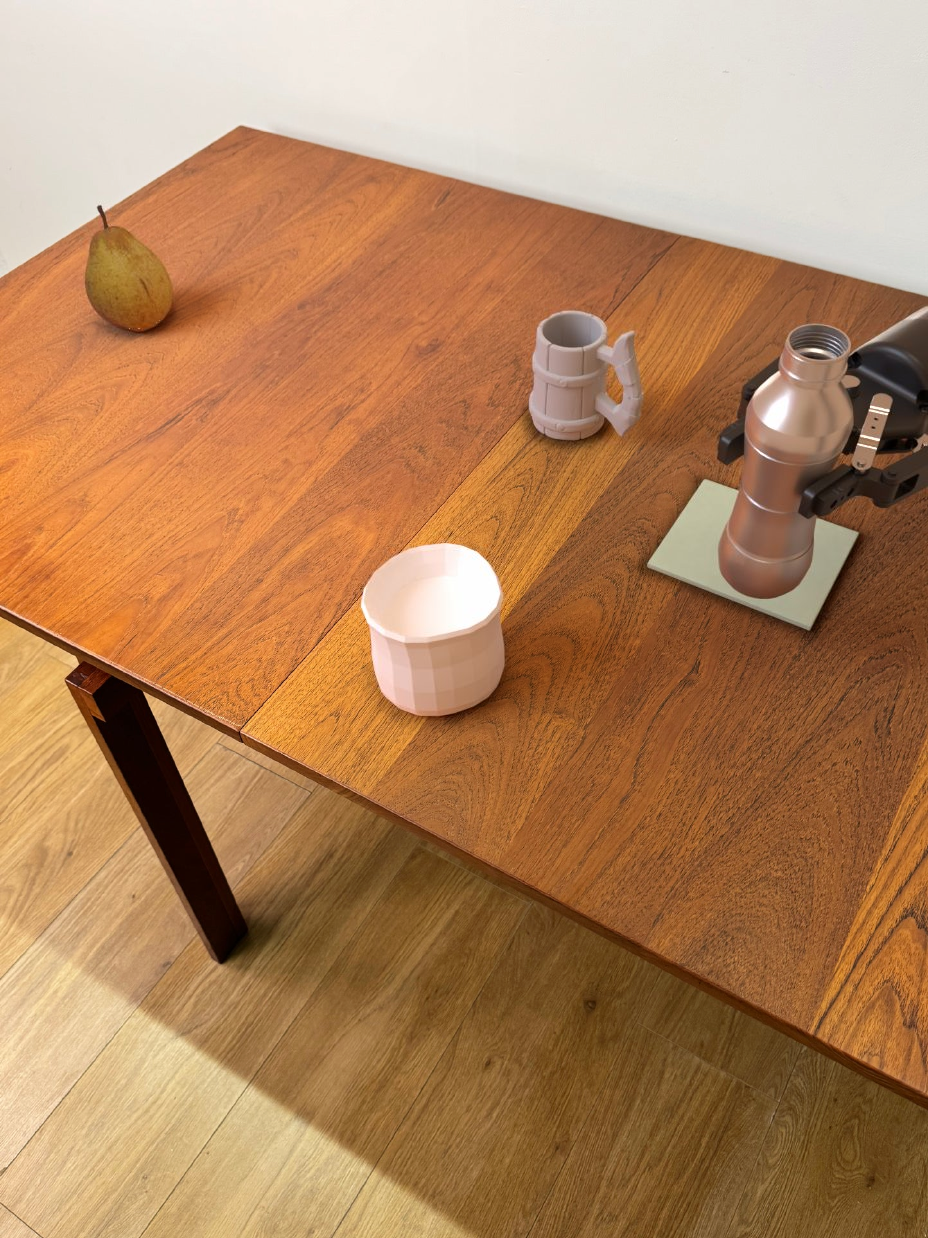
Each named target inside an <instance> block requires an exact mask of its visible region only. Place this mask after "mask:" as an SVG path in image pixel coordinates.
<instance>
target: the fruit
mask: <svg viewBox="0 0 928 1238" xmlns="http://www.w3.org/2000/svg"><path fill="white" fill-rule="evenodd" d="M96 210H97V212H98V213H99V216H100V217H101V219H102V223H103V229H100V230H98V231H96V232H95V233H93V236H92V237H91V240H90V243H89V248H88V249H89V250H88V257H87V261H86V266H85V272H84V288H85V294H86V296H87V299H88V302H89V304H90V305H91V307H92V308H93V310H94V311H95V312H96V313H97V314H98V316H100V318H102V319H103V320H104V321H105V322H107V323H108V324H110V325H112V326H115V327H117V328H119V329H122V330H123V329H124V330H128V331H132V332H135V333H139V332H140V333H141V332H146V331H148V330H151V329H152V328H155V327H156V326H158V325H159V324H160V323H161V322H162V321H163V320H165V318H166V317H167V316H168V314H169V312H170V311H171V308H172V305H173V299H174V287H173V283H172V279H171V277H170V274H169V272H168V270H167V268H166V266H165V264H164V263H163V261H162V260H161V259H160V258H159V256H158V255H157V254H156V253H155V252H154V251H153V250H152V249H150V247H148V246H147V245H146V244H144V243H143V242H142V241H141V240H140V239H138V238H137V237H136V236H135V235H134V234H133V233H131V232H130V231H129V230H128V229H126V228H124V227H121V226H118V225H111V226H109V225H108V222H107V216H106V214H105V211H104V208H103V205H101V204H99V205H97V206H96ZM167 313H168V314H167ZM161 319H162V320H161ZM159 320H160V321H159ZM156 322H157V323H156ZM129 328H130V329H129ZM138 328H140V329H138Z"/></svg>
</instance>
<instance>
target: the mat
mask: <svg viewBox="0 0 928 1238" xmlns="http://www.w3.org/2000/svg"><path fill="white" fill-rule="evenodd" d="M738 492H739V489H735V488H732V487H729V486H726V485H725V484H721V483H717V482H714V481H712V480H709V479H706V478H704V479H703V480H702V481H701V483H700V485H699V486H698V488H697V489H696V490H695V492H694V494H693V495H692V497H691V498H690V500H689V501H688V502H687V504H686V505H685V507H684V509H683V510H682V511H681V512H680V514H679V515H678V517H677V518H676V520H675V521H674V523H673V525H672V526H671V528H670V529H669V530H668V532H667V534H666V535H665V537H664V538H663V540H662V541H661V542H660V544H659V545H658V547H657V548H656V550H655V551H654V553H653V555H652V556H651V557H650V559H649V561H648V562H647V564H646V568H648V569H651V570H653V571H656V572H658V573H661V574H663V575H666V576H669V577H671V578H674V579H676V580H679V581H681V582H684V583H687V584H689V585H691V586H693V587H697V588H699V589H701V590H702V589H703V591H707V592H709V593H712V594H715V595H717V596H720V597H723V598H725V599H726V600H727V599H728V600H730V601H733V602H735V603H738V604H740V605H743V606H746V607H747V608H749V609H753V610H756V611H758V612H760V613H763V614H765V615H769V616H771V617H773V618H776V619H778V620H781V621H784V622H785V623H789V624H791V625H793V626H795V627H798V628H801V629H803V630H807V631H811V629H812V627H813V625H814V624H815V622H816V619H817V617H818V615H819V614H820V611H821V609H823V606H824V603H825V602H826V600H827V598H828V596H829V594H830V592H831V590H832V588H833V586H834V584H835V583H836V580H837V578H838V576H839V574H840V572H841V571H842V568H843V566H844V565H845V563H846V561H847V558H848V556H849V555H850V553H851V551H852V549H853V547H854V545H855V543H856V541H857V539H858V537H859V535H860V532H859V531H855V530H853V529H850V528H847V527H844V526H841V525H839V524H836V523H833V522H830V521H827V520H825V519H821V518H820V517H817V519H816V524H815V530H814V550H813V558H812V563H811V566H810V568H809V570H808V572H807V573H806V575H805V577H804V578H803V580H802V581H801V583H800V584H799V585H798V586H797V587H796V588H795V589H794V590H792V591H790V592H789V593H787V594H784V595H782V596H779V597H776V598H771V599H757V598H752V597H748V596H745V595H743V594H741V593H739V592H738V591H736V590H735V589H733V588H732V587H731V586H730V585H729V584H728V582H727V581H726V580H725V579H724V577H723V576H722V574H721V572H720V569H719V564H718V544H719V540H720V538H721V535H722V533H723V530H724V528H725V526H726V523H727V522H728V520H729V518H730V516H731V513H732V510H733V507H734V504H735V501H736V498H737V495H738Z"/></svg>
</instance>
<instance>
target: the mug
mask: <svg viewBox="0 0 928 1238" xmlns="http://www.w3.org/2000/svg"><path fill="white" fill-rule="evenodd" d="M635 336H636V333H635V331H634V330H629V331H628V332H627V331H626V332H625V333H623V334H621V335H620V336H619V338H617V339H616V341H614V344H613V346H608V328H607V325H606V323H605V321H603V320H602V319H601V318H600V317H598V316H597V315H594V314H592V313H588V312H584V311H580V310H562V311H558V312H555V313H553V314H551V315H550V316H549V317H547V318H545V319H543V320H541V321H540V322H539V324H538V327H536V336H535V349H534V351H533V354H532V357H531V360H532V362H531V364H532V365H531V366H532V367H531V369H532V372H533V389H532V390H531V392H530V394H529V398H528V410H529V414H530V416H531V419H532V423H533V426H534V427H535V428H536V430H537V431H538V432H539V433H541V434H543V435H545V436H546V437H548V438H551V439H555V440H561V441H579V440H580V439H581V440H583V439H584V440H585V439H587V438H590V437H591V436H593V435H595V434H596V433H597V432H599V431H600V429H601V428H602V427H603V425H604V424H605V418H606V419H607V420H608V421H609V422H610V425H611V426H612V427H613V429H614V431H615V433H617V435H618V436H619V437H623V438H624V437H625V436H626V435H627V434H629V432H630V431H631V429H633V428H635V427H636V426H637V424H638V423H639V421H640V419H641V414H642V413H641V412H642V407H643V402H644V394H645V393H644V391H643V385H642V380H641V373H640V369H639V365H638V358H637V354H636V348H635V338H636V337H635ZM610 365H611V366H613V367H614V368H613V369H614V371H615V374H616V377H617V379H618V381H619V383H620V384H621V385H622V388H623V391H622V401H621V402H620V403H618V404H617V403H616V402H615V400H614V399H613V398H611V397H610V396H609V393H608V392H607V373H608V371H609V368H610Z"/></svg>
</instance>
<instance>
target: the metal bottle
mask: <svg viewBox="0 0 928 1238" xmlns="http://www.w3.org/2000/svg"><path fill="white" fill-rule="evenodd" d="M851 349H852V342H851V339H850V338H849V336H848V335H847V334H846V333H845V331H843V330H841V329H840V328H838V327H836V326H833V325H828V324H824V323H807V324H806V323H805V324H803V325H799V326H796V327H795V328H793V329H792V330H791V331H790V332H789V333H788V335H787V338H786V339H785V342H784V347H783V351H782V353H781V354H780V355H781V357H780V360H779V371H778V372H777V373H775V374H774V375H773V376H771V377H770V378H769V379H768V380H767V381H765V382H764V383H763V384H762V385H761V386H760V387H759V388H758V389H757V390H756V392H755V393H754V395H753V397H752V399H751V400H750V402H749V404H748V406H747V410H746V419H745V437H744V455H743V462H742V463H743V464H742V471H741V476H740V485H739V489H738V491H739V492H738V495H737V498H736V501H735V504H734V507H733V510H732V513H731V516H730V518H729V520H728V522H727V523H726V526H725V528H724V530H723V533H722V535H721V538H720V540H719V544H718V564H719V569H720V572H721V574H722V576H723V577H724V579H725V580H726V581H727V582H728V584H729V585H730V586H731V587H732V588H733V589H735V590H736V591H738V592H739V593H741V594H743V595H745V596H748V597H752V598H757V599H771V598H776V597H779V596H782V595H784V594H787V593H789V592H790V591H792V590H794V589H795V588H796V587H797V586H798V585H799V584H800V583H801V581H802V580H803V578H804V577H805V575H806V573H807V572H808V570H809V568H810V566H811V563H812V558H813V550H814V530H815V524H816V519H817V518H818V516H817V515H814V516H813V517H812V518H810V519H806V518H805V517H803V516H802V515H800V514H799V513H798V509H799V506H800V502H801V499H802V495H803V493H804V492H805V490H806V489H807V488H808V487H809V486H811V485H812V484H814V483H815V482H817V481H818V480H819V479H821V478H822V477H824V476H825V475H827V474H828V473H830V472H831V471H833V470H834V469H835V466H836V464H837V462H838V460H839V458H840V457H841V454H842V453H841V452H842V451H843V449H844V447H845V444H846V443H847V441H848V438H849V435H850V433H851V431H852V428H853V406H852V402H851V399H850V397H849V395H848V392H847V390H846V388H845V387H844V385H843V383H842V382H841V381H842V379H843V378H844V376H845V373H846V370H847V360H848V357H849V355H850V354H851Z"/></svg>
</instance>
